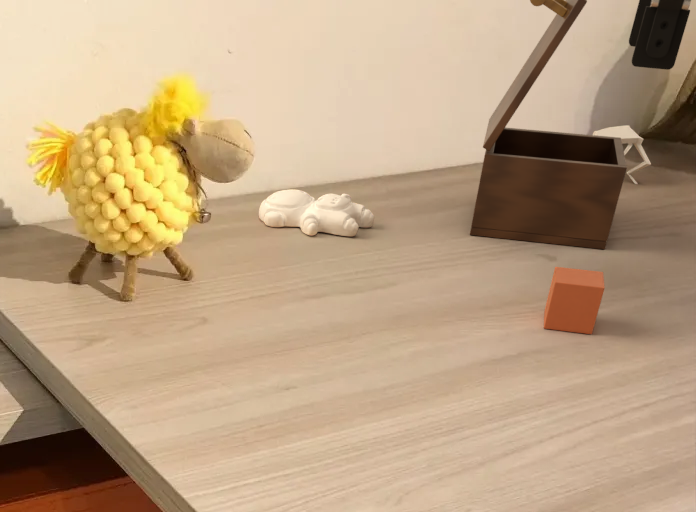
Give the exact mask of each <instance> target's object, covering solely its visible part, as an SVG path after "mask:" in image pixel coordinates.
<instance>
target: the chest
mask: <svg viewBox="0 0 696 512" xmlns="http://www.w3.org/2000/svg"><path fill="white" fill-rule="evenodd" d="M624 150H625V149H624V146H623V144H622V140H621V138H618V137H607V136H595V135H593V134H583V133H573V132H571V133H570V132H562V131H561V132H560V131H551V130H550V131H549V130H537V129H526V128H514V127H505V128H504V130H503V131H502V133H501V134H500V136H499V137H498V139H497V140H496V142H495V143H494V145H493V146H492V148H491V149H490V151H488V150H486V149H485V152H484V157H483V161H482V168H481V172H480V179H479V183H478V189H477V192H476V193H477V194H476V199H475V204H474V210H473V215H472V221H471V226H470V231H469V235H470V236H475V237H485V238H486V237H487V238H493V239H494V238H495V239H504V240H505V239H506V240H513V241H522V242H532V243H540V244H552V245H558V246H559V245H561V246H568V247H579V248H588V249H597V250H605V249H606V246H607V242H608V240H609V235H610V231H611V228H612V224H613V221H614V217H615V214H616V210H617V206H618V203H619V200H620V199H619V198H620V195H621V192H622V188H623V183H624V180H625V176H626V174H627V173H626V172H627V169H628V167H627V162H626V157H625V156H626V155H625V156H624Z"/></svg>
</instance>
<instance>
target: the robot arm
mask: <svg viewBox="0 0 696 512" xmlns="http://www.w3.org/2000/svg"><path fill="white" fill-rule="evenodd" d="M691 2H692V0H639V1H638V4H637V7H636V12H635V15H634V20H633V23H632V26H631V29H630V34H629V37H628V45H629V46H630V47H634V49H633V50H634V51H633V53H632V57H631V65H632V66H633V67H635V68H647V69H657V70H671V69H672V68H674V66H675V64H676V62H677V61H676V60H677V58H678V54H679V51H680V47H681V44H682V40H683V37H684V33H685V30H686V27H687V23H688V21H689V16H690V13H691V10H690V5H691Z"/></svg>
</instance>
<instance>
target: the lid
mask: <svg viewBox="0 0 696 512" xmlns="http://www.w3.org/2000/svg"><path fill="white" fill-rule="evenodd" d="M529 2H530V3H531V5H532V6H533V7H540V6H545V7H546V8H548V9H549V10H550V11H552V12H553V13H554V14H555V15H554V17H553V19H552V20H551V22H550V24H549V25H548V26H547V28H546V30H544V33H543V34H542V36H541V37H540V39H539V41H538V42H537V44H536V45H535V47H534V49H533V50H532V52H531V53H530V54H529V56H528V58H527V60H526V61H525V62H524V64H523V66H522V67H521V69H520V70H519V72H518V74H517V75H516V76H515V77H514V80H513V81H512V83H511V85H510V86H509V87H508V88H507V90H506V92H505V93H504V95H503V97H502V99H501V100H500V101H499V103H498V105H497V106H496V108H495V110H494V111H493V113H492V114H491V115H490V117H489V118H488V123H487V128H486V132H485V136H484V140H483V146H482V148H483V149H484V150H485V151H486V150H488V151H490V149H491V148H492V146H493V145H494V143H495V142H496V140H497V139H498V137H499V136H500V134H501V133H502V131H503V130H504V128H507V125H508V124H509V122H510V120H511V119H512V117H513V116H514V114H515V113H516V111H517V110H518V108H519V107H520V105H521V104H522V102H523V101H524V99H525V98H526V96H527V95H528V93H529V91H530V90H531V89H532V87H533V85H535V83H536V81H537V79H538V78H539V77H540V75H541V73H542V72H543V70H544V68H545V67H546V65H547V64H548V62H549V61H550V59H551V58H552V56H553V55H554V54H555V52H556V51H557V49H558V47H559V46H560V44H561V43H562V41H563V39H565V37H566V36H567V34H568V32H569V30H570V29H571V27H572V26H573V24H574V23H575V22H576V20H577V18H578V17H579V15H580V14H581V12H582V11H583V9H584V8H585V6H586V4H587V3H588V0H529Z"/></svg>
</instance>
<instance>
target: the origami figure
mask: <svg viewBox="0 0 696 512" xmlns="http://www.w3.org/2000/svg"><path fill="white" fill-rule="evenodd" d="M592 135H595V136H607V137H618V138H621V140H622V145H623V144H624V145H625V144H627V146H626V148H625V149H623V150H624V156H626V155H627V153H628V152H629V151H630V149H631V148H632V147H633V146H634V147H635V149H636V150H637V152H638V154H639V155H640V157H641V158H642V160H643V161H642V162H641V163H639V164H637V165H636V166H633V167H632V168H631V169H629V170H628V171H626V173H625V174H626V175H627V176H628V177H629V179H630V180H631V181H632V183H633V184H634V185H639V184H638V182H637V180H635V178H634V177H633V176H632V175H631V174H634V173H635V172H638V171H640V170H642V169H644V168H646V167H649V166H651V165H652V163H651V161H650V159H649V157H648V155H647V153H646V151H645V149H644V147H643V146H642V144H643V141H644V138H643V137H641V136H639V134H638V133H637V132H636V131H635V130H634V129H632V128H631V125H627V124H625V125H617V126H609V127H605V128H602V129H599V130H594V131H593V132H592Z"/></svg>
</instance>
